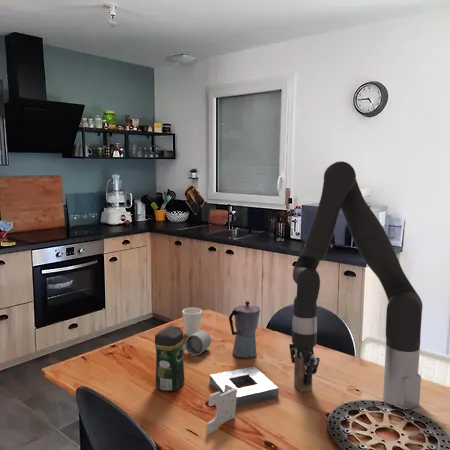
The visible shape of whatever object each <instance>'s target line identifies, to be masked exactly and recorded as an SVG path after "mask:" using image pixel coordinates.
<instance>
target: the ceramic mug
mask: <svg viewBox="0 0 450 450" xmlns="http://www.w3.org/2000/svg"><path fill="white" fill-rule="evenodd" d="M184 341H185V342H184V343H183V351H186V352H187V353H188V354H190V355H191V356H194V355H196V356H199V355H201V354H202V353H203V352H205V351H206V350H207V349H208V348H210V346H211V343H212V337H211V336H210V334H209V333H208V332H207V331H205V330H200V331H198V332H196V333H194V334H192V335H190V336H187V338H186V339H185V340H184Z"/></svg>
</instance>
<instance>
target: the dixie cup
mask: <svg viewBox="0 0 450 450" xmlns="http://www.w3.org/2000/svg"><path fill="white" fill-rule="evenodd" d="M181 312H182V317H183V318H182V319H183V323H184V324H183V327H184V331H185V335H186V336H187V335H188V336H187V337H189V336H190V335H192V334H194V333H196V332H198V331H201V330H200V329H201V323H202V322H201V321H202V313H203V310H202V309H201V308H199V307H187V308H184V309H182V311H181Z"/></svg>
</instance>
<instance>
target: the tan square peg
mask: <svg viewBox="0 0 450 450" xmlns="http://www.w3.org/2000/svg"><path fill="white" fill-rule="evenodd" d="M294 357H295V366H294V370H293V371H294V374H293V375H294V378H293V387H294V388H295V389H296V390H298V392H300V393H303V392H304V393H305V392H308V391H312V390H313V374H312V375H311V384H310V385H307V386H305V385H304V367H303V361H302V360H301V358H299V357H296V356H295V355H294ZM307 363H310V362H305V364H307ZM308 367H309V366H307V370H308Z"/></svg>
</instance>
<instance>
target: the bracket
mask: <svg viewBox="0 0 450 450" xmlns="http://www.w3.org/2000/svg"><path fill="white" fill-rule="evenodd" d="M228 390H230V391H228ZM220 393H221V392H216V391H215V392H213V393H211V394H209V395H208V406H209V407H213V406H215V407H216V412H215V415H214V417H212V419H211V420H210V421H207V422H206V429H205V433H206V434H207V435H209V434H211V433H213V432H215V431H217V430H218V427H219V426H220V425H222V424H225V423H227V422H228V421H230V420H232V419H234V418H235V417H236V411H237V410H236V408H237V407H236V399H237V389H236V388H233V387H231V386H228V385H226V384H225V388H224V393H222V394H220Z"/></svg>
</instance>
